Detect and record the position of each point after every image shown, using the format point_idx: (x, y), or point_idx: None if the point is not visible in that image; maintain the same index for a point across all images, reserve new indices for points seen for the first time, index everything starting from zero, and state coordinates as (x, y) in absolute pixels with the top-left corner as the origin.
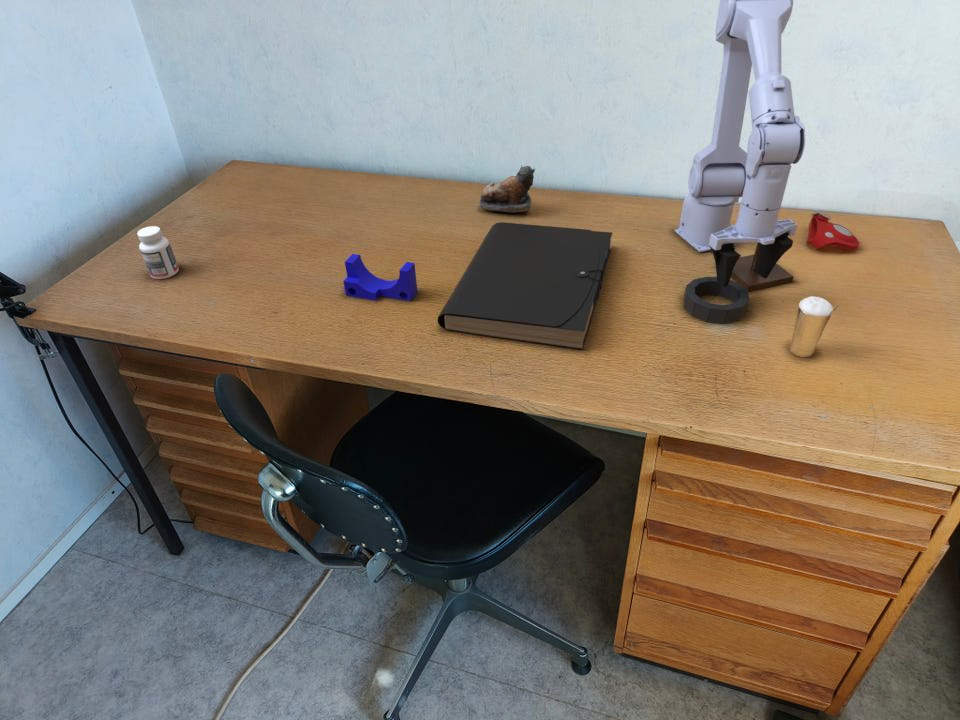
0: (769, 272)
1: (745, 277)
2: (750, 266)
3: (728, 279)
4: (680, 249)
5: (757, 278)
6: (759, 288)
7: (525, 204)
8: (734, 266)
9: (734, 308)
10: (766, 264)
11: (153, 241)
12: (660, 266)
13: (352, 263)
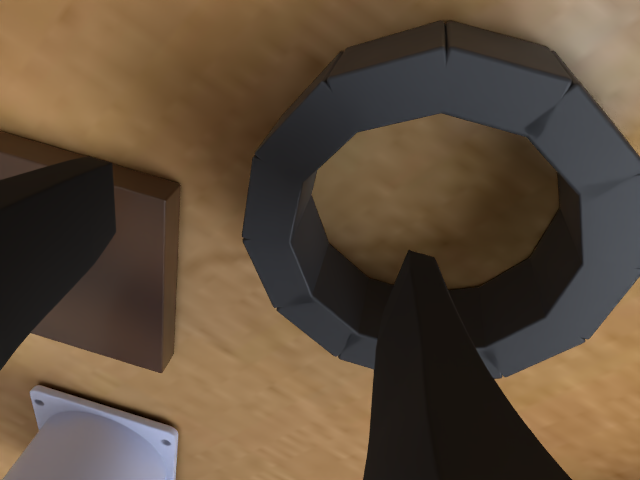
0: (56, 168)
1: (138, 253)
2: None
3: (426, 287)
4: (221, 465)
5: None
6: (116, 167)
7: None
8: (130, 325)
9: (513, 65)
10: (40, 233)
11: None
12: (360, 461)
13: None
